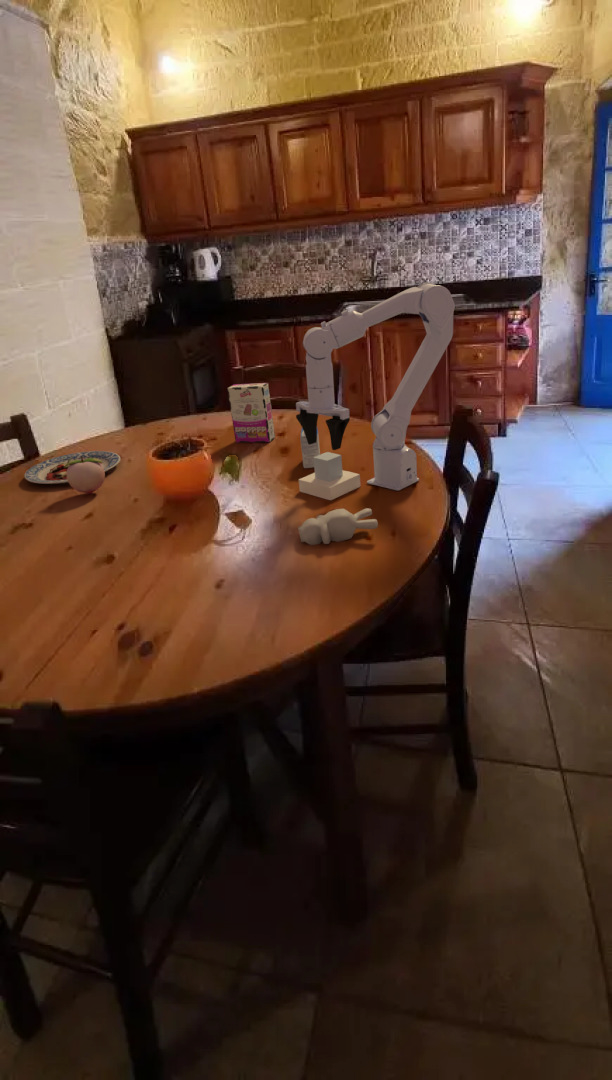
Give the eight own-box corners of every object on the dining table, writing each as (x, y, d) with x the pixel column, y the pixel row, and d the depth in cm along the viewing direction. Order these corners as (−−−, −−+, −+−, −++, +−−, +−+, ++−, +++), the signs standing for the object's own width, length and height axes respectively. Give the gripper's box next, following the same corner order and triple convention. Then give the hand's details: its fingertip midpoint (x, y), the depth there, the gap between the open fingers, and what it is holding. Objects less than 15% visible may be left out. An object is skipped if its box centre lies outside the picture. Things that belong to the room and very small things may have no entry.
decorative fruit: (73, 503, 161) (62, 464, 156) (70, 493, 168) (60, 455, 163) (111, 495, 164) (102, 456, 159) (107, 485, 171) (99, 448, 166)
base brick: (360, 486, 153) (359, 474, 151) (330, 500, 147) (329, 487, 145) (329, 478, 159) (328, 466, 158) (299, 491, 153) (298, 479, 152)
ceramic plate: (127, 476, 176) (125, 466, 175) (26, 497, 169) (23, 486, 167) (115, 452, 198) (113, 442, 197) (26, 470, 191) (23, 460, 189)
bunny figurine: (294, 514, 132) (367, 496, 132) (300, 537, 134) (372, 519, 134) (299, 533, 123) (377, 514, 123) (305, 557, 125) (381, 538, 125)
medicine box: (320, 467, 167) (317, 434, 164) (303, 469, 168) (300, 436, 164) (320, 457, 175) (317, 425, 171) (303, 459, 175) (300, 427, 171)
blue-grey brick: (342, 475, 152) (341, 455, 149) (329, 481, 149) (327, 460, 147) (328, 472, 155) (327, 451, 152) (315, 478, 152) (313, 457, 150)
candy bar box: (275, 437, 195) (269, 382, 188) (270, 442, 191) (263, 386, 184) (241, 437, 199) (233, 383, 192) (234, 442, 194) (226, 387, 188)
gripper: (284, 386, 145) (289, 445, 151) (332, 393, 136) (335, 456, 141) (307, 379, 150) (311, 437, 155) (354, 386, 140) (357, 447, 146)
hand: (324, 446), depth 149 cm, fingers open, 7 cm apart
